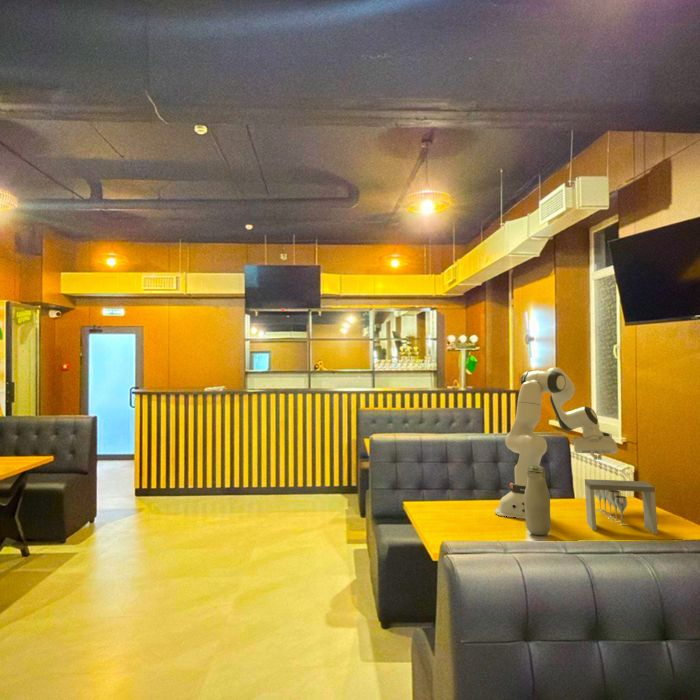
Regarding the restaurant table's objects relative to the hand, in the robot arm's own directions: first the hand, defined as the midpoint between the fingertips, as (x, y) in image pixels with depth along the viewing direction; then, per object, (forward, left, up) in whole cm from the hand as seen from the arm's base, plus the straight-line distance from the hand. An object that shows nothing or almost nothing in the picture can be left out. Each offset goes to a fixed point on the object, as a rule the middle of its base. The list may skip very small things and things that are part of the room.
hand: (597, 459), depth 237 cm
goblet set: (0, -21, -24) cm, 32 cm away
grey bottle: (-34, -56, -24) cm, 70 cm away
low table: (0, -39, -23) cm, 46 cm away
